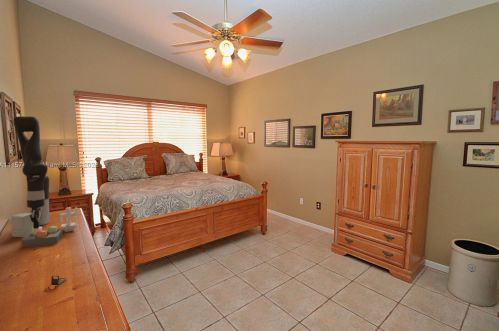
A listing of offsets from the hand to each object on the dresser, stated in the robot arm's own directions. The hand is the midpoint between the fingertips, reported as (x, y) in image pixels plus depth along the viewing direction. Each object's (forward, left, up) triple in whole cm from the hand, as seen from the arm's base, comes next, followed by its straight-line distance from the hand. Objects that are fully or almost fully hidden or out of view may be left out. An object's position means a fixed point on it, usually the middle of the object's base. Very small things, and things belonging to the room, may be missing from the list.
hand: (36, 228), depth 137 cm
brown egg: (+6, +4, -6) cm, 10 cm away
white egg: (0, 0, -6) cm, 6 cm away
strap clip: (+59, +19, -8) cm, 62 cm away
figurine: (-12, +13, -7) cm, 19 cm away
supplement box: (-12, -9, -7) cm, 17 cm away
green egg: (0, +7, -6) cm, 10 cm away
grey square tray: (+3, +4, -7) cm, 8 cm away
